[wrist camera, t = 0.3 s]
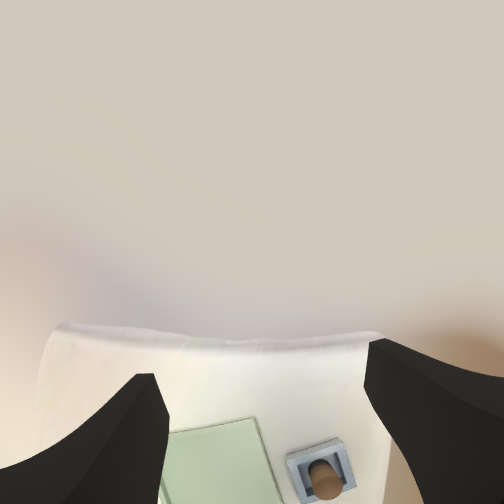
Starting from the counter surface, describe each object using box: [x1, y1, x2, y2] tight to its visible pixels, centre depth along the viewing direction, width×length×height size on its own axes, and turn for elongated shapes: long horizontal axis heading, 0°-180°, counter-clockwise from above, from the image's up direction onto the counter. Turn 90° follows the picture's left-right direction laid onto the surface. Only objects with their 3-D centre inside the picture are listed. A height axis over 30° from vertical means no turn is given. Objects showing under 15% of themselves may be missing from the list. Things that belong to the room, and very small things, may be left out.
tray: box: [158, 417, 283, 504], centre depth 27 cm, size 16×16×2 cm
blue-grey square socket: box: [286, 438, 357, 504], centre depth 26 cm, size 7×7×4 cm
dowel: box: [308, 459, 343, 500], centre depth 23 cm, size 3×3×9 cm
